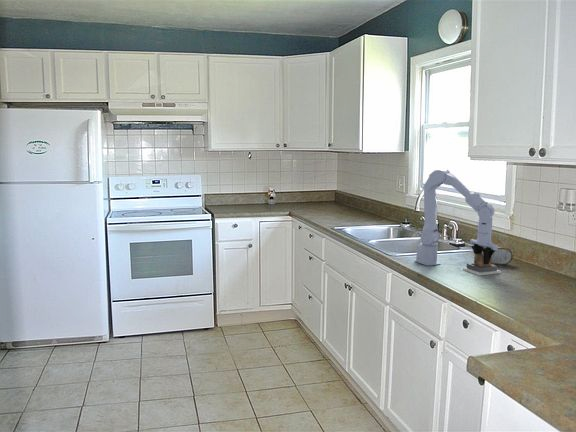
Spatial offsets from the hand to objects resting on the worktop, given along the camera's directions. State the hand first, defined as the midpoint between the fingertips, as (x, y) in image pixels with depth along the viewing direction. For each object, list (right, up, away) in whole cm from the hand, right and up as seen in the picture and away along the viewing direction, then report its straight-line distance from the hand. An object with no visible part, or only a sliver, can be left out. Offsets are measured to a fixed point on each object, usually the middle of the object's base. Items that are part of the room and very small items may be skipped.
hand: (482, 262), depth 237 cm
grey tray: (0, -4, +1) cm, 4 cm away
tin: (+12, -2, +16) cm, 20 cm away
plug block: (0, -2, 0) cm, 2 cm away
